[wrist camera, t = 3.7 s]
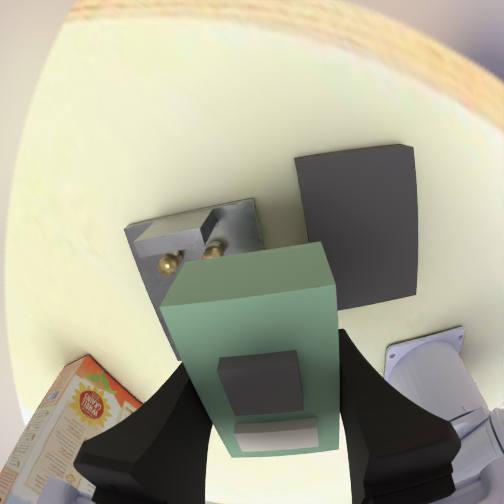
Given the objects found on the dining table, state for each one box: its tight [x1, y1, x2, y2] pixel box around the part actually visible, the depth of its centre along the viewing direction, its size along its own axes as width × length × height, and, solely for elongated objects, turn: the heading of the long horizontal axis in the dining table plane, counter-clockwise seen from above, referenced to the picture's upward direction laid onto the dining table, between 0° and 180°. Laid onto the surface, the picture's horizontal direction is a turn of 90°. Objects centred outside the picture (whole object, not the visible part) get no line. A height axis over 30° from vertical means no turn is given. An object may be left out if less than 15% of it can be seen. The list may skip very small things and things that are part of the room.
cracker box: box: [0, 355, 142, 504], centre depth 20 cm, size 14×6×21 cm, turn 33°
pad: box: [295, 144, 418, 311], centre depth 19 cm, size 10×7×2 cm
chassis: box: [124, 198, 264, 361], centre depth 20 cm, size 12×9×4 cm
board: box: [160, 241, 340, 457], centre depth 11 cm, size 9×5×4 cm, turn 11°
